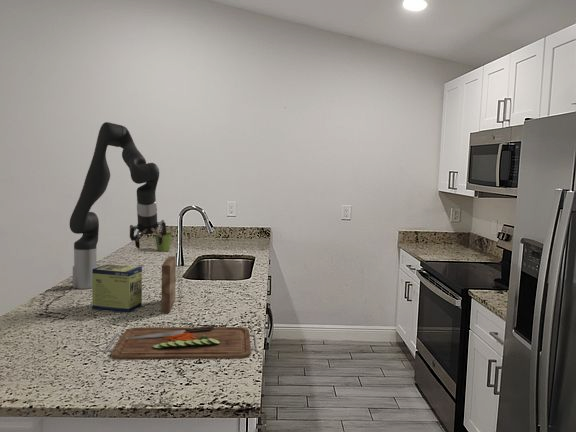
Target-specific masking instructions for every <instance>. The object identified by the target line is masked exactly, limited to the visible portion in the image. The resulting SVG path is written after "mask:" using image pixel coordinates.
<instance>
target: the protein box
mask: <svg viewBox="0 0 576 432" xmlns="http://www.w3.org/2000/svg"><path fill="white" fill-rule="evenodd" d="M91 289H92V291H91V293H92V294H91V295H92V296H91V297H92V298H91V299H92V305H91V309H92V310H99V311H106V312H107V311H109V312H120V313H127V314H128V313H130V312H132V311H134V310H136V309H138V308H141V307H142V306H143V303H142V302H143V266H135V265H134V266H133V265H120V264H118V265H117V264H105V265H102V266H101V265H100V266H97V267H96V268H95V269H92V288H91Z"/></svg>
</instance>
